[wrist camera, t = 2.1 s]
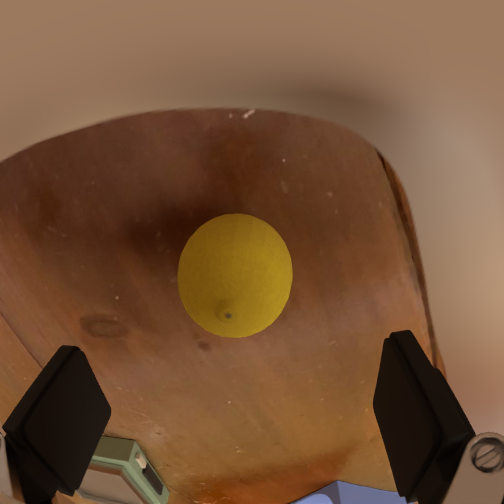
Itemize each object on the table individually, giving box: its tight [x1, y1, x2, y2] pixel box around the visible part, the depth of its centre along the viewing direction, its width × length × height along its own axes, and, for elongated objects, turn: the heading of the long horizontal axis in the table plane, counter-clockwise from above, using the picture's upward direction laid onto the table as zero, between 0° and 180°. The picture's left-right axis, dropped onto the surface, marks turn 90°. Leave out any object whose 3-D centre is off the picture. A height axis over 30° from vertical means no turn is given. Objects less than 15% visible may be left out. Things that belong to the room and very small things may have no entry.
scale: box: [91, 436, 169, 504], centre depth 29 cm, size 14×13×3 cm
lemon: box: [177, 213, 293, 338], centre depth 16 cm, size 6×6×8 cm
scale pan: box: [75, 460, 154, 504], centre depth 27 cm, size 11×11×1 cm
